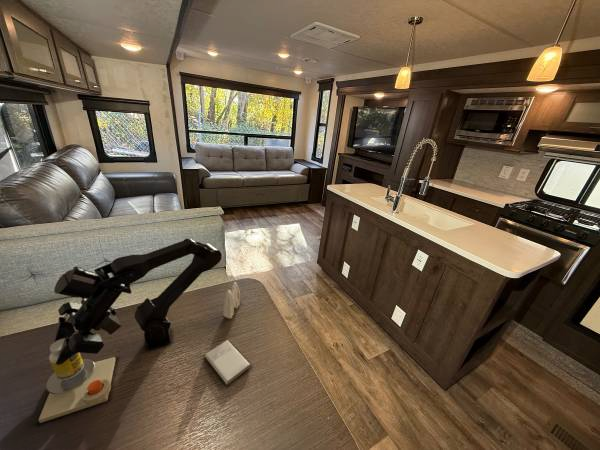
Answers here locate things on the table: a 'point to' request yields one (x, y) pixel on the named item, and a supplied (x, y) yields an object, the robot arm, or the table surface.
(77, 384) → the scale pan
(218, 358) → the hard drive
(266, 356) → the table surface
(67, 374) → the supplement bottle
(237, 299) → the shaker set
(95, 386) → the tare button
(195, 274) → the robot arm
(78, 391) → the scale
